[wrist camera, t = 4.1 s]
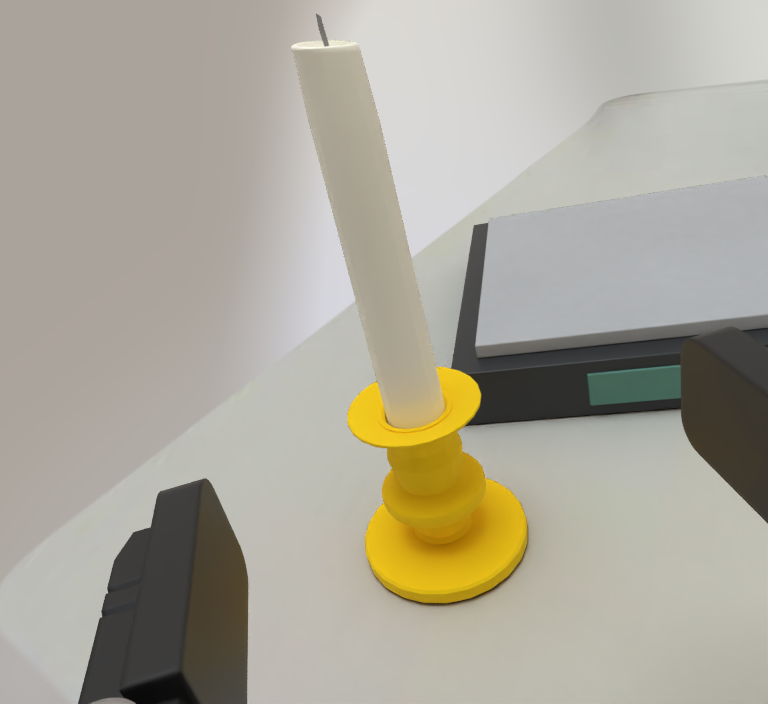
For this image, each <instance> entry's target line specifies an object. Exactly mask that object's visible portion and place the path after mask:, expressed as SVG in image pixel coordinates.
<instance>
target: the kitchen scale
mask: <svg viewBox="0 0 768 704" xmlns="http://www.w3.org/2000/svg"><path fill="white" fill-rule="evenodd" d="M729 326H733V327H736V328H738V329H740V330H741V331H743V332H744V333H746V334H747V335H749V336H750V337H752V338H753V339H755V340H756V341H758V342H759V343H761V344H762V345H764V346H765V347H768V177H767V176H766V175H763V176H757V177H751V178H744V179H738V180H732V181H725V182H719V183H713V184H706V185H700V186H694V187H687V188H681V189H675V190H668V191H662V192H656V193H649V194H643V195H637V196H630V197H624V198H618V199H611V200H605V201H599V202H592V203H586V204H580V205H573V206H567V207H561V208H554V209H548V210H542V211H535V212H529V213H523V214H516V215H510V216H504V217H497V218H491V219H489V223H485V224H479V225H474V228H473V234H472V241H471V247H470V253H469V260H468V266H467V272H466V279H465V285H464V291H463V298H462V304H461V310H460V317H459V323H458V329H457V335H456V342H455V348H454V354H453V361H452V367H451V369H454V370H458V371H461V372H463V373H465V374H467V375H469V376H470V377H471V378H472V379H473V380H474V381H475V382H476V383H477V384H478V387H479V390H480V392H481V402H480V407H479V409H478V410H477V412H476V414H475V416H474V417H473V418H472V419H471V420H470V421H469V422H468V423H467V424H466V425H469V424H482V423H494V422H507V421H519V420H532V419H544V418H557V417H569V416H582V415H594V414H607V413H619V412H632V411H644V410H657V409H669V408H681V363H680V351H681V346H682V343H683V342H684V340H686V339H688V338H692V337H695V336H698V335H702V334H705V333H709V332H712V331H715V330H719V329H722V328H726V327H729Z"/></svg>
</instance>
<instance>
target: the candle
mask: <svg viewBox="0 0 768 704" xmlns="http://www.w3.org/2000/svg"><path fill="white" fill-rule="evenodd" d="M316 16H317V22H318V27H319V31H320V34H321V37H322V41H310V42H301V43H296V44H294V45H292V47H291V49H292V51H293V53H294V58H295V62H296V67H297V71H298V76H299V80H300V85H301V89H302V93H303V98H304V103H305V107H306V112H307V117H308V121H309V124H310V128H311V132H312V136H313V140H314V143H315V147H316V151H317V155H318V158H319V162H320V166H321V170H322V174H323V178H324V181H325V185H326V189H327V193H328V197H329V200H330V204H331V208H332V212H333V216H334V219H335V223H336V227H337V231H338V235H339V238H340V242H341V246H342V250H343V254H344V257H345V261H346V265H347V269H348V273H349V276H350V280H351V284H352V288H353V291H354V295H355V299H356V303H357V307H358V311H359V314H360V318H361V322H362V326H363V329H364V333H365V337H366V341H367V345H368V348H369V352H370V356H371V360H372V364H373V367H374V371H375V375H376V379H377V381H376V382H374V383H373V384H371V385H369V386H368V387H367V388H366V389H364V390H363V391H362V392H361V393H359V395H358V396H357V397H356V398H355V400H354V401H353V402H352V403H351V406H350V408H349V411H348V413H347V415H348V426H349V428H350V430H351V431H352V433H353V435H354V436H356V437H357V438H358V439H359V440H361V441H362V442H364V443H367V444H369V445H372V446H375V447H380V448H387V457H388V461H389V463H390V465H391V467H392V469H391V470H390V472H389V473H388V475H387V476H386V478H385V480H384V483H383V487H382V497H383V501H384V503H383V504H382V505H381V506H380V507H379V508H378V509H377V511H376V513H375V514H374V516H373V517H372V519H371V520H370V522H369V525H368V529H367V532H366V536H365V547H366V555H367V558H368V561H369V563H370V566H371V568H372V570H373V572H374V575H375V576H376V577H377V579H378V580H379V581H380V582H381V583H382V584H383V585H384V586H385V587H386V588H387V589H389V590H391V591H392V592H394V593H396V594H398V595H400V596H401V597H403V598H407V599H411V600H415V601H419V602H423V603H451V602H456V601H460V600H465V599H470V598H472V597H474V596H477V595H479V594H481V593H483V592H486V591H488V590H490V589H492V588H493V587H495V586H496V585H497V584H498V583H500V582H501V581H502V580H504V579H505V578H506V577H508V576H509V575H510V574H511V572H512V571H513V570H514V568H515V567H516V566H517V565H518V563H519V562H520V561H521V559H522V556H523V553H524V551H525V548H526V546H527V535H528V526H527V520H526V516H525V514H524V511H523V508H522V505H521V503H520V502H519V501H518V499H517V498H516V497H515V496H514V495H513V493H512V492H511V491H510V490H508V489H507V488H505V487H504V486H502V485H501V484H499V483H498V482H495V481H493V480H490V479H487V478H485V475H484V471H483V468H482V466H481V465H480V464H479V462H478V461H477V460H476V459H475V458H473V457H472V456H470V455H469V454H467V453H464V452H462V442H461V438H460V436H459V434H458V433H457V431H458V430H460V429H461V428H463V427H464V426H465V425H466V424H467V423H468V422H469V421H470V420H471V419H472V418H473V417H474V416H475V414H476V412H477V410H478V409H479V407H480V402H481V392H480V390H479V387H478V384H477V383H476V382H475V381H474V380H473V379H472V378H471V377H470V376H469V375H467V374H465V373H463V372H461V371H458V370H454V369H450V368H446V367H436V364H435V359H434V355H433V351H432V346H431V342H430V338H429V333H428V329H427V325H426V320H425V316H424V311H423V307H422V303H421V298H420V294H419V290H418V285H417V281H416V277H415V272H414V268H413V264H412V259H411V255H410V250H409V246H408V242H407V237H406V233H405V229H404V224H403V220H402V216H401V211H400V207H399V203H398V198H397V194H396V190H395V185H394V181H393V176H392V172H391V168H390V163H389V159H388V155H387V150H386V146H385V141H384V137H383V133H382V129H381V124H380V121H379V117H378V113H377V110H376V106H375V102H374V99H373V95H372V91H371V88H370V84H369V80H368V77H367V73H366V69H365V66H364V62H363V58H362V55H361V51H360V48H359V45H358V44H357V43H355V42H351V41H339V40H329V41H328V40H327V37H326V34H325V30H324V27H323V24H322V20H321V17H320V16H319V15H318V14H316Z"/></svg>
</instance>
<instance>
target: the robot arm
mask: <svg viewBox="0 0 768 704" xmlns="http://www.w3.org/2000/svg"><path fill="white" fill-rule="evenodd" d="M680 363H681V416H682V423H683V427H684V430H685V433H686V435H687V437H688V439H689V441H690V443H691V445H692V446H693V448H694V449H695V450H696V451H697V452H698V454H699V455H700V456H701V457H702V458H703V459H704V460H705V461H706V462H707V463H708V464H709V465H710V466H711V467H712V468H713V469H714V470H715V471H716V472H717V473H718V474H719V475H720V476H721V477H722V478H723V479H724V480H725V481H726V482H727V483H728V484H729V485H730V486H731V487H732V488H733V489H734V490H735V491H736V492H737V493H738V494H739V495H740V496H741V497H742V498H743V499H744V500H745V501H746V502H747V503H748V504H749V505H750V506H751V507H752V508H753V509H754V510H755V511H756V512H757V513H758V514H759V515H760V516H761V517H762V518H763V519H764V520H765V521H766V522H767V523H768V347H765V346H764V345H762V344H761V343H759V342H758V341H756V340H755V339H753V338H752V337H750V336H749V335H747V334H746V333H744V332H743V331H741V330H740V329H738V328H736V327H733V326H729V327H726V328H722V329H719V330H715V331H712V332H709V333H705V334H702V335H698V336H695V337H692V338H688V339H686V340H684V342H683V343H682V346H681V351H680ZM107 589H108V594H106V596H105V600H104V603H103V607H102V611H101V612H102V618H100V619H99V623H98V627H97V631H96V635H95V639H94V643H93V647H92V651H91V655H90V659H89V663H88V667H87V671H86V675H85V679H84V683H83V687H82V691H81V695H80V699H79V702H78V704H247V656H248V576H247V569H246V564H245V560H244V556H243V553H242V550H241V547H240V545H239V543H238V541H237V538H236V536H235V534H234V532H233V530H232V527H231V525H230V523H229V521H228V519H227V516H226V514H225V512H224V510H223V508H222V506H221V503H220V501H219V499H218V497H217V495H216V492H215V490H214V488H213V486H212V484H211V483H210V482H209V480H207V479H202V480H198V481H195V482H191V483H188V484H184V485H181V486H178V487H174V488H171V489H167V490H164V491H160V492H159V494H158V496H157V499H156V504H155V509H154V514H153V519H152V525H151V527H150V528H147V529H144V530H140V531H137V532H133V534H132V535H131V537H130V538H129V540H128V541H127V543H126V544H125V546H124V547H123V549H122V550H121V551H120V553H119V554H118V556H117V557H116V559H115V560H114V564H113V568H112V572H111V576H110V580H109V584H108V588H107Z"/></svg>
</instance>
